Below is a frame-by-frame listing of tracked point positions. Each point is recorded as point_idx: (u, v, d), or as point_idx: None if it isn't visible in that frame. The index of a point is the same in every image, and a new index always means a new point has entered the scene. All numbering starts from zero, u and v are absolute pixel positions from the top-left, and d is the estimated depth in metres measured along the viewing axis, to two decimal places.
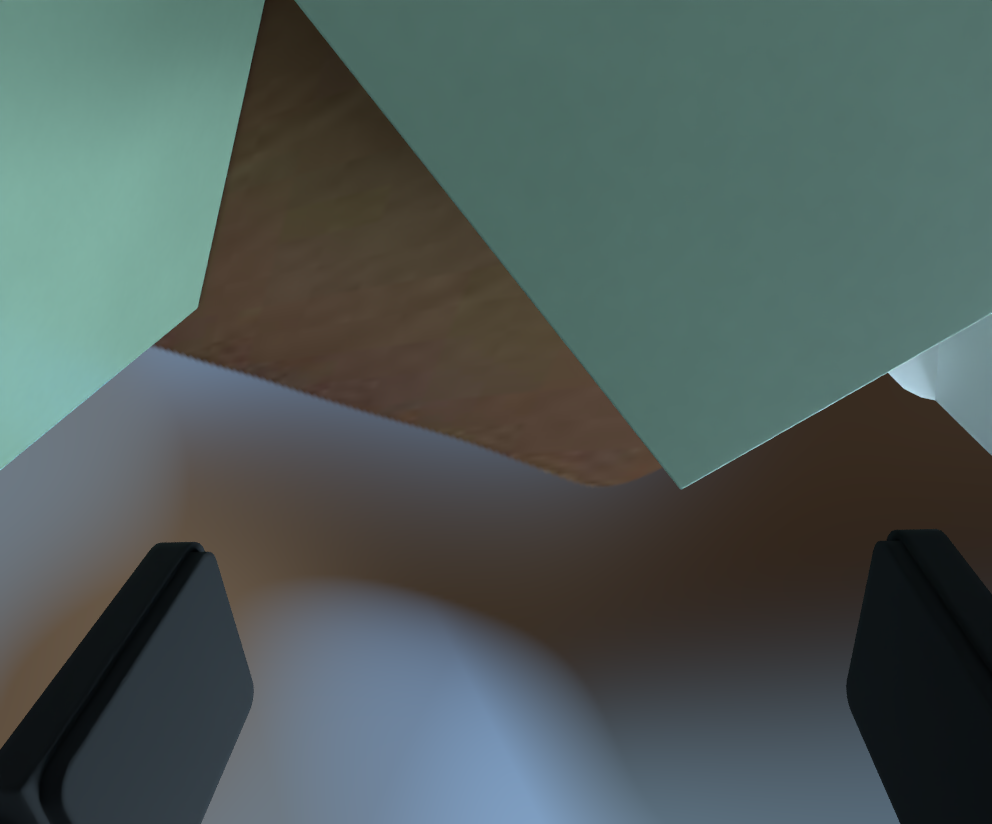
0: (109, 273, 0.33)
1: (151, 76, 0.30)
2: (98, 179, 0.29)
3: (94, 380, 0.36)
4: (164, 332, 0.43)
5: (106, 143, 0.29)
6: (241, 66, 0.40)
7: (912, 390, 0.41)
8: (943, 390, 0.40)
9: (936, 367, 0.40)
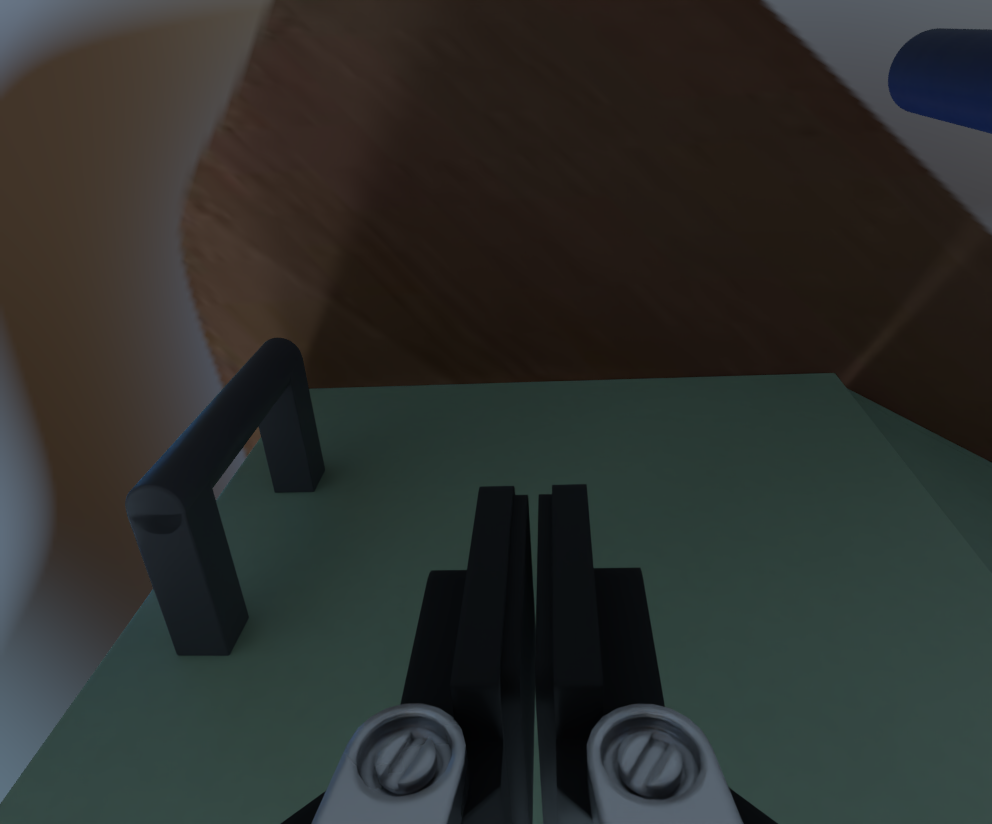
0: None
1: None
2: None
3: None
4: None
5: None
6: None
7: None
8: None
9: None
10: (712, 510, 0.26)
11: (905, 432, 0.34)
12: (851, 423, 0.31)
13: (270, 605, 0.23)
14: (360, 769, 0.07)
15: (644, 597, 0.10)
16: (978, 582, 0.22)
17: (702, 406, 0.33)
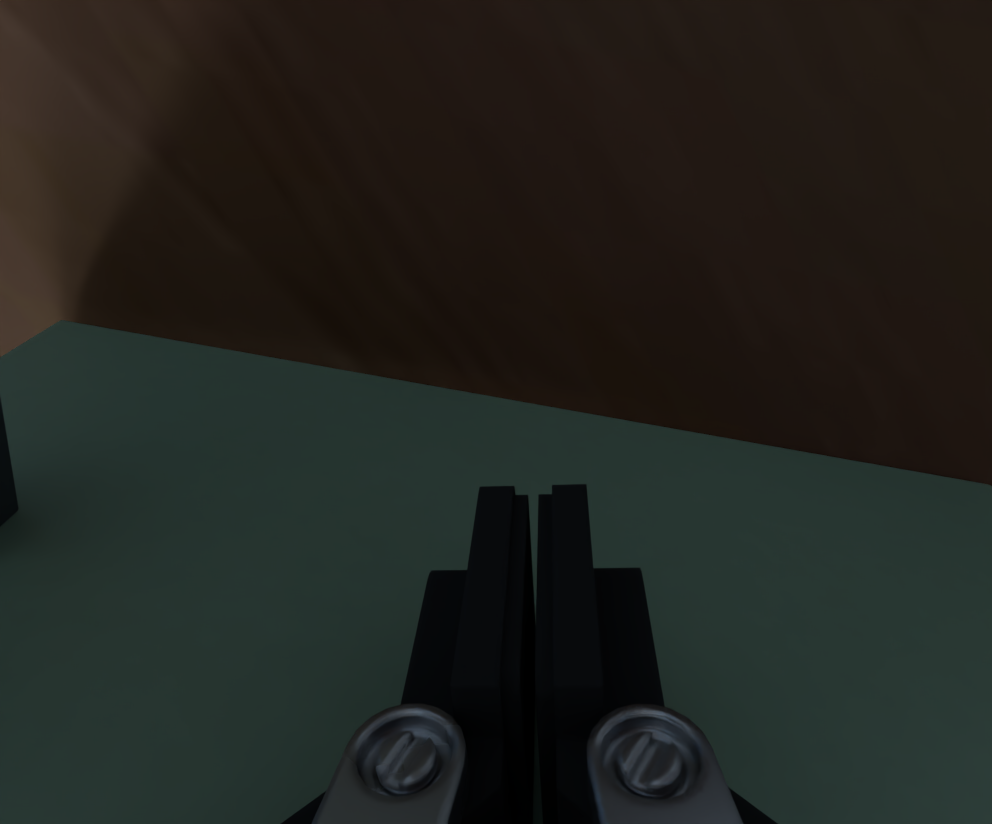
0: None
1: None
2: None
3: None
4: None
5: None
6: None
7: None
8: None
9: None
10: (883, 803, 0.11)
11: None
12: None
13: None
14: (360, 769, 0.07)
15: (644, 597, 0.10)
16: None
17: (793, 507, 0.18)
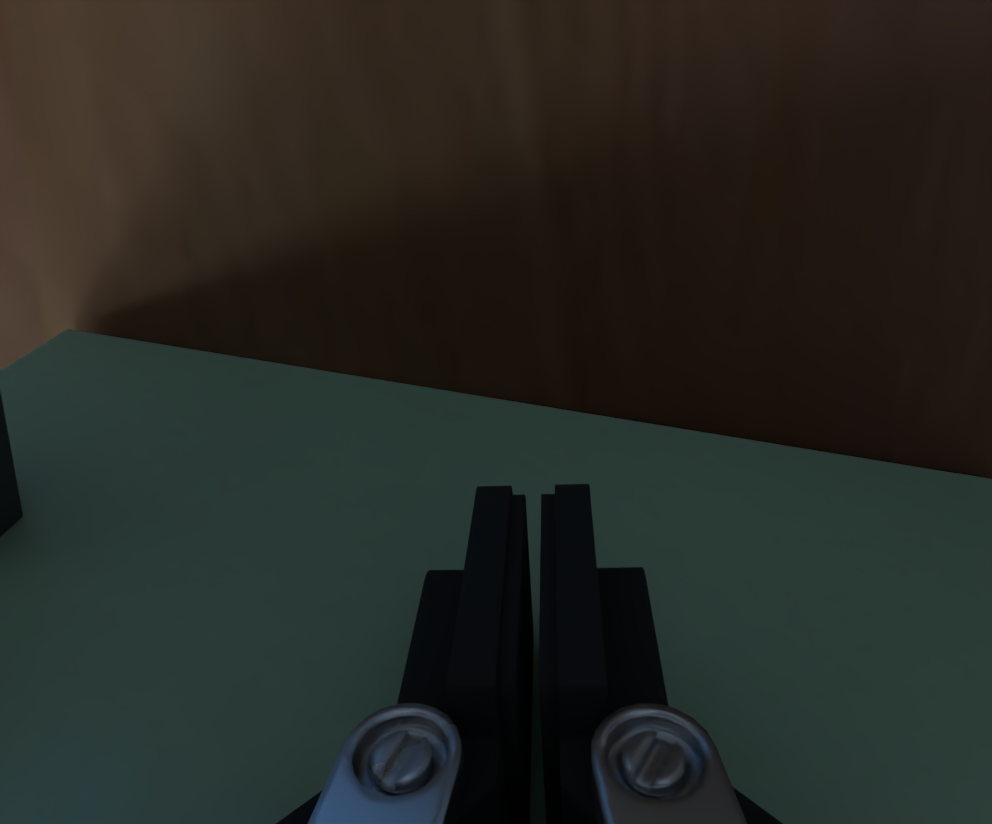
0: None
1: None
2: None
3: None
4: None
5: None
6: None
7: None
8: None
9: None
10: (886, 801, 0.11)
11: None
12: None
13: None
14: (356, 768, 0.07)
15: (647, 597, 0.10)
16: None
17: (797, 505, 0.18)
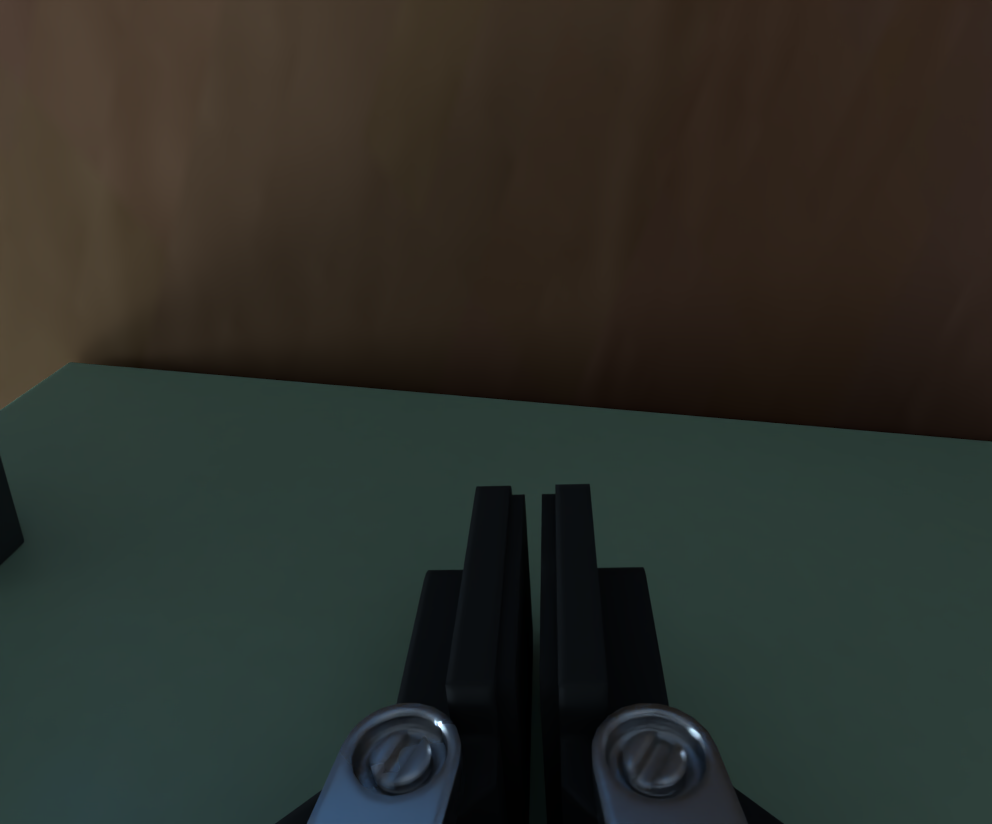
0: None
1: None
2: None
3: None
4: None
5: None
6: None
7: None
8: None
9: None
10: (875, 767, 0.11)
11: None
12: None
13: None
14: (356, 768, 0.07)
15: (648, 597, 0.10)
16: None
17: (792, 481, 0.18)
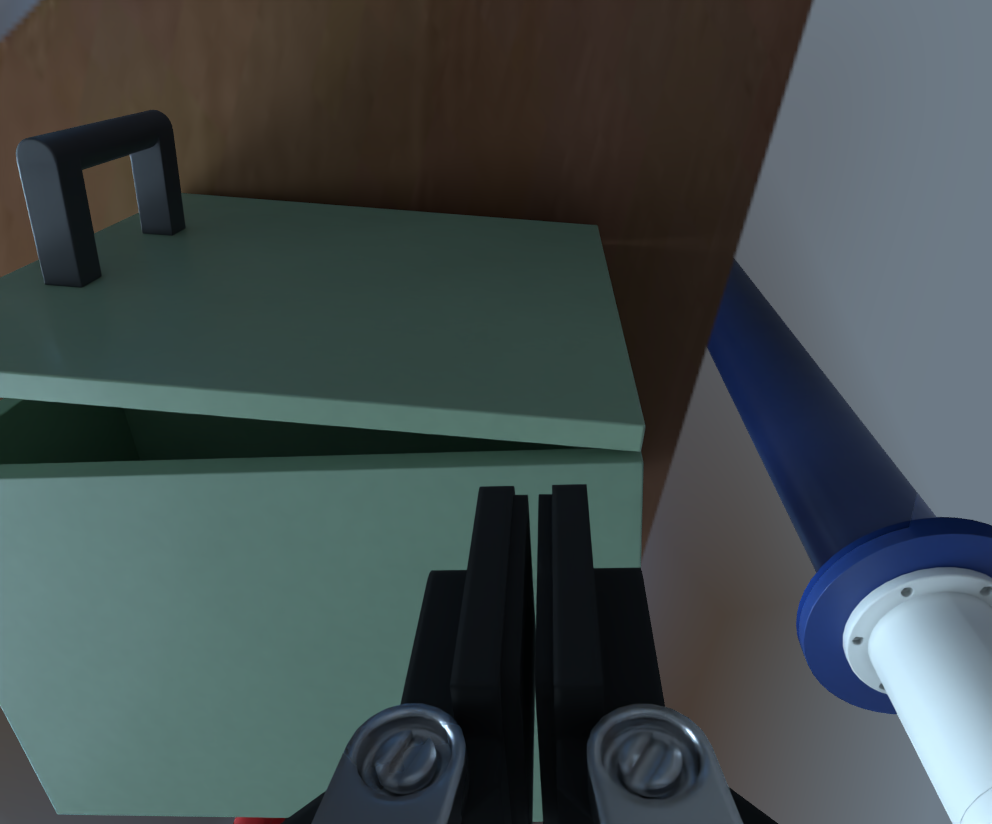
0: None
1: None
2: None
3: None
4: None
5: None
6: None
7: None
8: None
9: None
10: (455, 267, 0.36)
11: None
12: (586, 245, 0.42)
13: (119, 273, 0.33)
14: (360, 769, 0.07)
15: (644, 597, 0.10)
16: (603, 305, 0.33)
17: (487, 229, 0.43)
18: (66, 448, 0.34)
